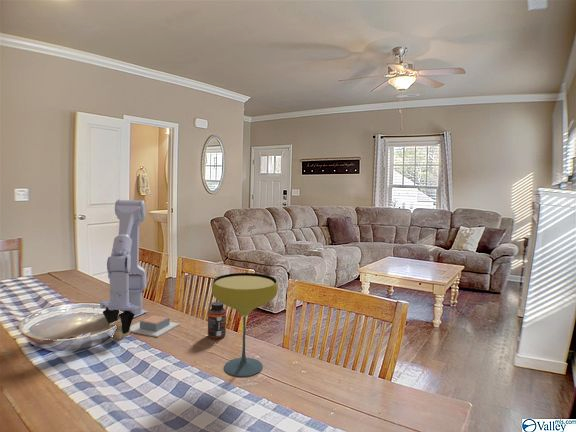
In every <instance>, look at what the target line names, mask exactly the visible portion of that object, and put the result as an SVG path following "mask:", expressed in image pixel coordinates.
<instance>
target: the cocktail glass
mask: <svg viewBox="0 0 576 432" xmlns="http://www.w3.org/2000/svg"><path fill="white" fill-rule="evenodd" d="M277 280H278V279H276V278H275V277H273V276H270V275H267V274H264V273H255V272H254V273H253V272H238V273H237V272H235V273H227V274H223V275H219V276H217V277H215V278H214V279H213V280H212V281H211V282H212V283H211V294H212V296H213V298H215V299H216V301H217V302H220V303H222V304H223V306H224V305H225V306H227V307H229V308H231V309H234V310H236V311H237V313H239V315H240V316H241V317H242V318H243V322H242V323H243V325H242V352H241V353H242V354H241V357H237V358H233V359H230V360H229V361H227V362H226V363H225V364H224V365H223V366H224V368H223V369H224V371H225V373H227V374H228V375H230V376H233V377H238V378H239V377H240V378H247V377H252V376H255V375H258V374H259V373H260V372H261V371H262V370H263V366H264V365H263V363H262V361H260V360H258V359H257V358H256V359H255V358H252V357H246V356H247V355H246V317H248V316H249V315H250V314H251V312H252V311H253V310H255V309H258V308H261V307H262V306H265V305H267V304H268V303H270V302H271V301H272V300H274V299H275V298H276V297H277V294H278V289H279V287H278V281H277Z"/></svg>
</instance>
